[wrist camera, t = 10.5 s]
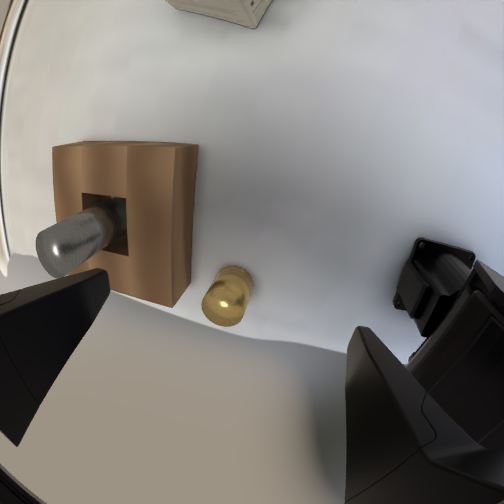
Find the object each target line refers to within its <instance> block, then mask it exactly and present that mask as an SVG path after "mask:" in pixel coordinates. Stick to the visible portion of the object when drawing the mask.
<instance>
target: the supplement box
mask: <svg viewBox="0 0 504 504" xmlns="http://www.w3.org/2000/svg"><path fill="white" fill-rule="evenodd" d="M165 1H167V2H168V3H169V4H170V5H172V6H173V7H174V8H176V9H179V10H184V11H189V12H194V13H199V14H203V15H207V16H211V17H215V18H219V19H223V20H226V21H230V22H233V23H237V24H240V25H243V26H246V27H250V28H253V29H255V28H256V27H257V25H258V23H259V21H260V19H261V18H262V16H263V14H264V12H265V10H266V9H267V7H268V6H269V4H270V2H271V1H272V0H165Z"/></svg>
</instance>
